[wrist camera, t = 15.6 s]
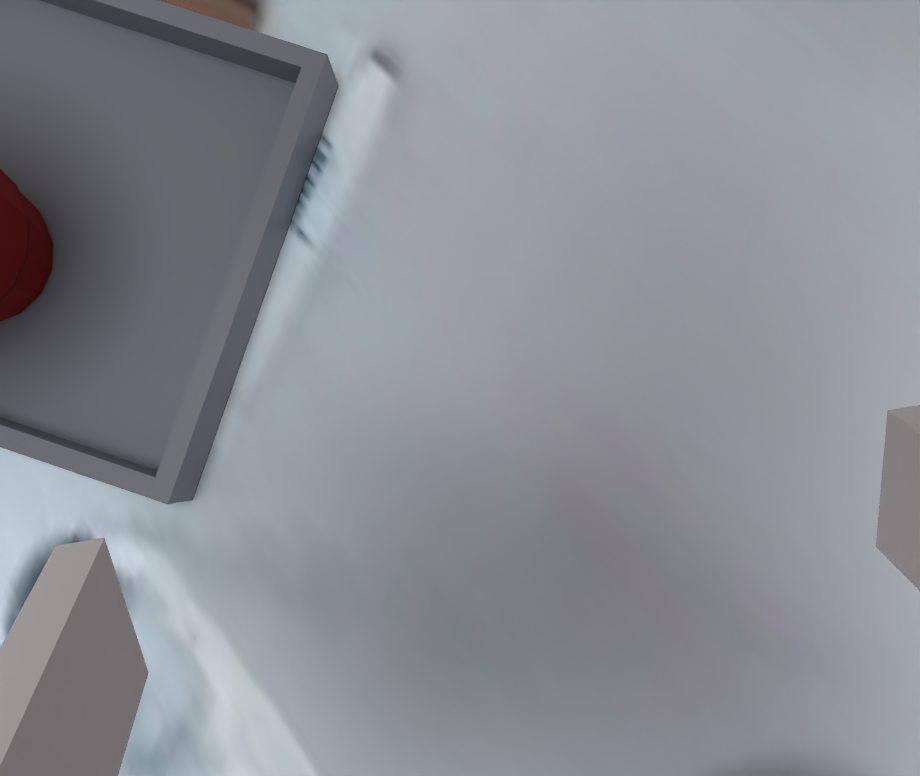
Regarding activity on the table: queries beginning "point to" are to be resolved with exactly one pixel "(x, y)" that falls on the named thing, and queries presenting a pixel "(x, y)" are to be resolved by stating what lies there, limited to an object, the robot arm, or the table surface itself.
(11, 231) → the plastic cup
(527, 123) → the table surface
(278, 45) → the grey shallow square tray
